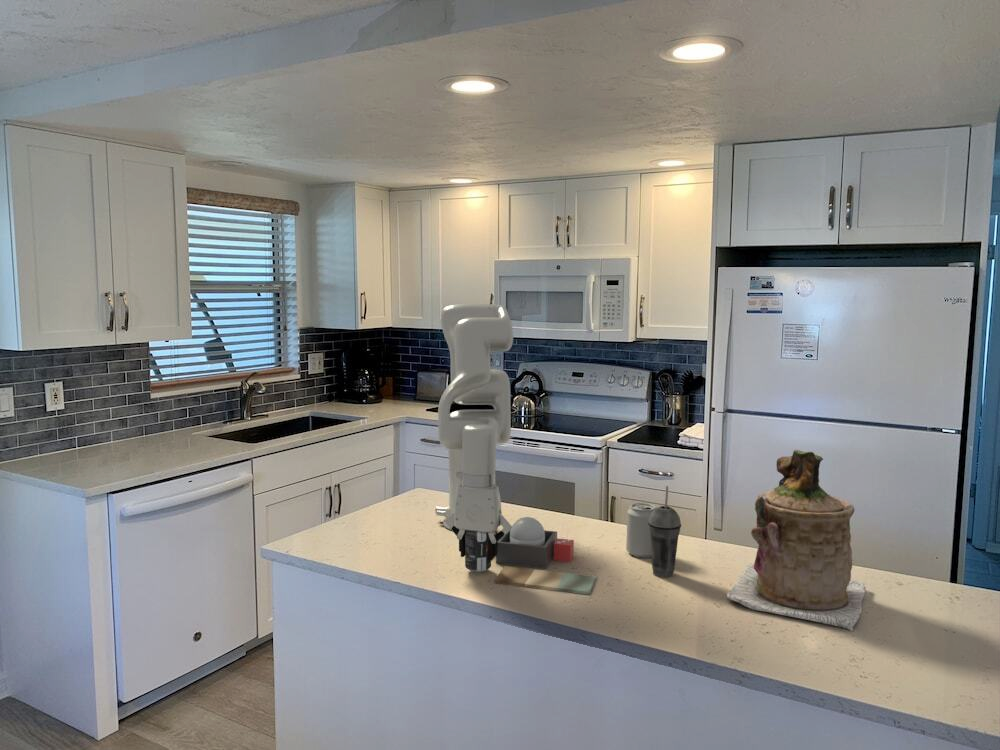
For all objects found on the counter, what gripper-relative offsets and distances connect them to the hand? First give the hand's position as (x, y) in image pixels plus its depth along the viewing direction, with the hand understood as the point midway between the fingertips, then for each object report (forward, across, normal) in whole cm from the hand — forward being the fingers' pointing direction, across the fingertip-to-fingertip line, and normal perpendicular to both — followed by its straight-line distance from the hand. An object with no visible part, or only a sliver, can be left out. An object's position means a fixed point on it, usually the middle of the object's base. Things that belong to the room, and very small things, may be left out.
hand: (478, 555), depth 166 cm
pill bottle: (+3, 0, 0) cm, 3 cm away
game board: (+3, +16, -1) cm, 16 cm away
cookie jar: (+3, +68, +6) cm, 69 cm away
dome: (+3, +8, +12) cm, 15 cm away
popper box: (+4, +11, +12) cm, 17 cm away
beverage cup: (+4, +40, +11) cm, 42 cm away
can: (+4, +34, +23) cm, 42 cm away
